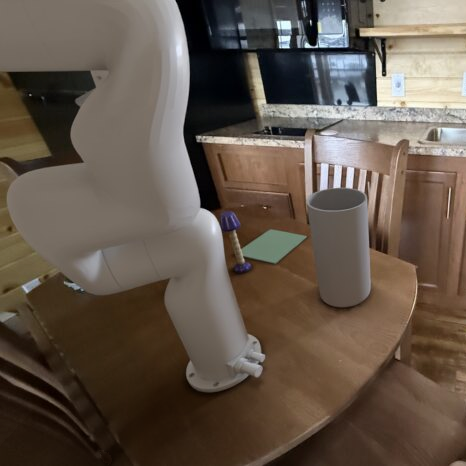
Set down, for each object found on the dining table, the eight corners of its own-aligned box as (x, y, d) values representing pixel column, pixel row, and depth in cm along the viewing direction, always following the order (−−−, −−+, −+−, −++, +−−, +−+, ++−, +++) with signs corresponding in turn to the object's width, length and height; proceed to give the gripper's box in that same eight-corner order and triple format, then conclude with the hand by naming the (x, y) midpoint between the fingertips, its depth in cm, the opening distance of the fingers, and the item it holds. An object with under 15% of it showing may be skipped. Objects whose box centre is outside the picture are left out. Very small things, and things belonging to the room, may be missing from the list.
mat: (306, 237, 101) (306, 236, 101) (274, 264, 88) (274, 263, 87) (270, 230, 105) (270, 229, 104) (234, 255, 91) (234, 253, 91)
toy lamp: (229, 271, 85) (211, 215, 76) (242, 262, 88) (226, 208, 80) (243, 274, 83) (227, 218, 75) (256, 265, 87) (241, 211, 79)
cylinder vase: (309, 299, 75) (293, 204, 63) (339, 271, 85) (330, 184, 73) (353, 315, 71) (345, 216, 58) (379, 284, 81) (377, 193, 68)
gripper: (45, 41, 49) (96, 151, 57) (175, 44, 58) (202, 138, 67) (49, 42, 53) (95, 143, 62) (168, 45, 63) (194, 132, 72)
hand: (151, 140), depth 64 cm, fingers open, 9 cm apart
